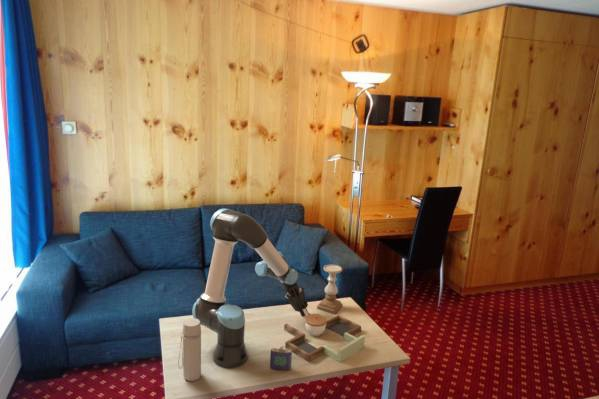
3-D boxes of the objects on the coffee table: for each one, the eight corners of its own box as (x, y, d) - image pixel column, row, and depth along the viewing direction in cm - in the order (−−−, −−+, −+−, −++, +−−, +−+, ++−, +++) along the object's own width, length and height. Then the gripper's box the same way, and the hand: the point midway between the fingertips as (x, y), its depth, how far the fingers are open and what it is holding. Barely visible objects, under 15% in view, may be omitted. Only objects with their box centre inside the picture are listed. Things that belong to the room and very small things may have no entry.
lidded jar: (324, 327, 229) (325, 310, 227) (327, 338, 219) (328, 321, 216) (303, 327, 228) (304, 310, 226) (305, 338, 218) (306, 321, 215)
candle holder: (334, 314, 242) (337, 273, 237) (316, 308, 248) (319, 268, 242) (342, 306, 252) (346, 267, 246) (325, 301, 257) (328, 262, 251)
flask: (291, 367, 195) (292, 345, 193) (290, 371, 192) (291, 349, 190) (270, 365, 196) (271, 344, 193) (269, 370, 193) (270, 347, 190)
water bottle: (199, 369, 190) (199, 316, 184) (202, 380, 183) (202, 325, 177) (177, 373, 187) (176, 319, 181) (179, 385, 180) (178, 329, 174)
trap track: (268, 337, 217) (269, 326, 216) (321, 311, 245) (322, 301, 243) (324, 372, 193) (325, 359, 192) (376, 339, 221) (377, 328, 219)
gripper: (292, 279, 241) (312, 319, 235) (274, 286, 232) (295, 328, 225) (300, 273, 236) (321, 314, 230) (282, 280, 227) (304, 323, 220)
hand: (308, 321), depth 228 cm, fingers closed
